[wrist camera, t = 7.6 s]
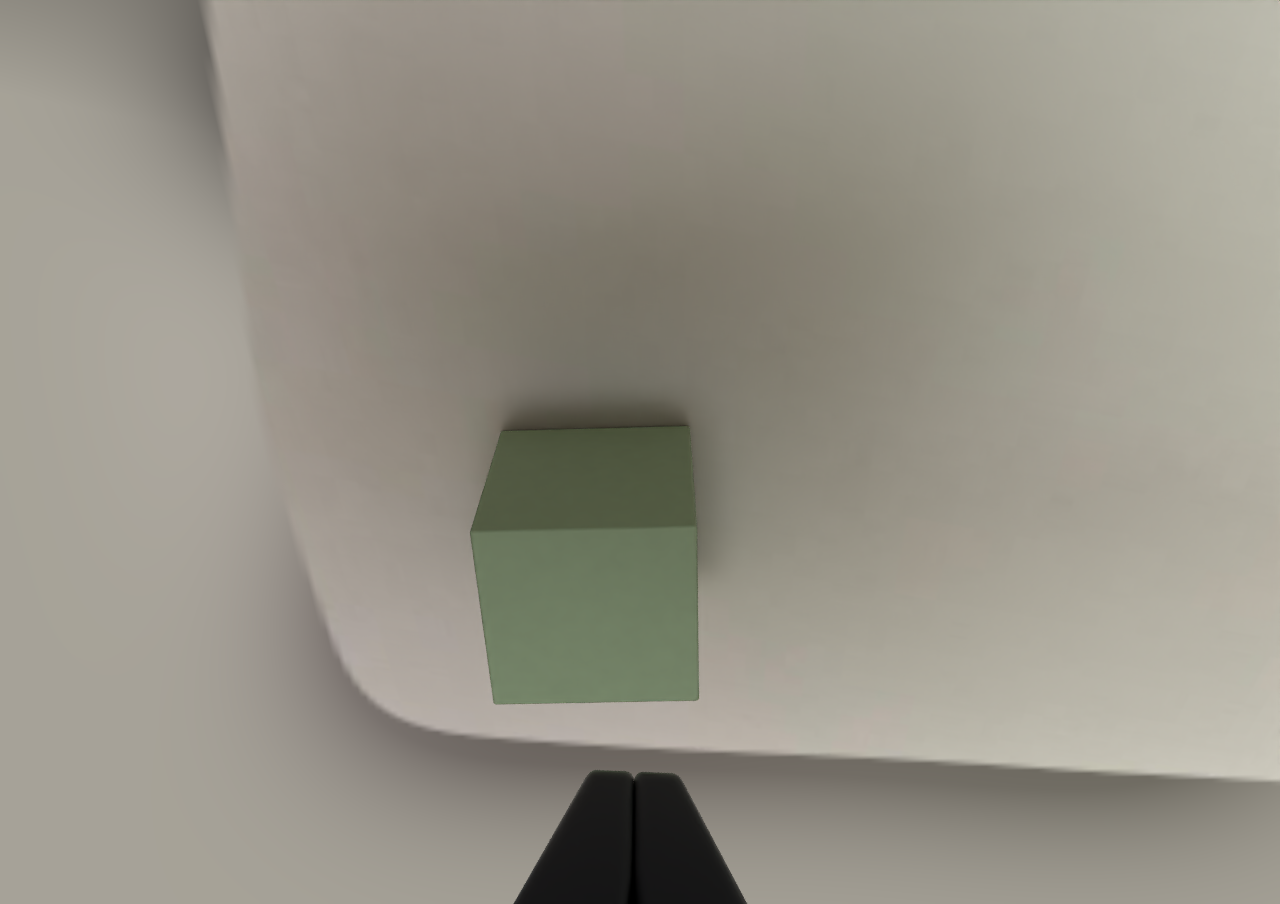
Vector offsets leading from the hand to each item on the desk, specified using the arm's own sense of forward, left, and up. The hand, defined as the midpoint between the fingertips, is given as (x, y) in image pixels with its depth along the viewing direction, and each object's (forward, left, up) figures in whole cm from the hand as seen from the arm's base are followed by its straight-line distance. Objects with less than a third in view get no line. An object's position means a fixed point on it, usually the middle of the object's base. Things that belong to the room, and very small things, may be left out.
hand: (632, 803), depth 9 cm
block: (-1, -4, -12) cm, 13 cm away
